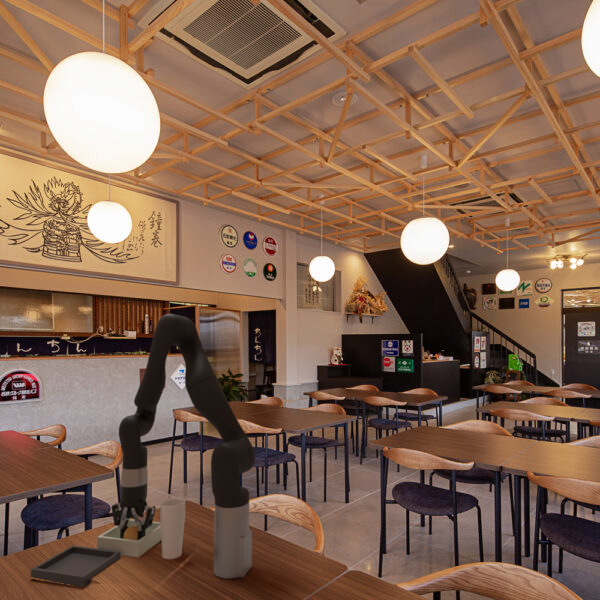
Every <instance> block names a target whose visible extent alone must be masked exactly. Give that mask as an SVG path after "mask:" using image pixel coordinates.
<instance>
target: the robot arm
mask: <svg viewBox="0 0 600 600" xmlns="http://www.w3.org/2000/svg"><path fill="white" fill-rule="evenodd" d="M172 346H176V347H177V348H178V350H179V351H180V354H181V356H182V358H183V360H184V364H185V374H184V375H185V376H184V383H185V389H186V391H187V394H188V396H189V399H190V402H191V403H192V406H194V408H195V409H196V411H197V412H198V413H199V414H200V415H201V416H202V417H203V418H204V419H205V420H206V421H207V422H209V423H210V424H211V425H212V426H213V427H214V428H215V430H217V432H218V434H219V436H220V438H221V440H222V442H221V443H219V444H217V445H216V446H215V447H214V448H213V451H212V453H211V457H210V460H211V461H210V473H211V475H210V477H211V491H212V494H213V496H214V497H213V498H214V522H213V523H214V526H213V527H214V529H213V530H214V534H213V573H214V575H215V576H216V577H218V578H222V579H236V578H244V577H246V574H247V573H248V572H249V570H250V569H251V568H252V567H253V561H252V559H253V552H252V551H253V530H252V528H251V529H250V491H249V489H248V488H246V487H244V486H241V481H240V475H241V474H245V473H246V472H249V471H251V469H252V468H253V467H254V465H255V462H256V454H255V453H256V452H255V449H254V446H253V445H252V443H251V442H252V441H250V439H249V437H248V436H247V434H246V432H245V431H244V428H243V427H242V425H241V424H240V422H239V421H238V419H237V417H236V415H235V414H234V413H235V412H234V411H233V409H232V407H231V405H230V403H229V401H228V399H227V397H226V395H225V393H224V392H225V391H224V390H223V388H222V386H221V384H220V380H218V377H217V375H216V373H215V371H214V369H213V367H212V365H211V363H210V361H209V358H208V357H207V355H206V352H205V349H204V347H203V344H202V341H201V338H200V335H199V331H198V330H197V327H196V325H195V323H194V321H193V320H192V319H191V318H189V317H187V316H184V315H178V314H174V313H167V314H164V315H163V316H161V317H160V318H159V320H158V322H157V323H156V326H155V329H154V333H153V337H152V342H151V346H150V348H149V349H150V350H149V355H148V359H147V364H146V367H145V370H144V372H143V373H144V374H143V375H142V376H143V377H142V380H141V382H140V384H139V386H138V389H137V392H136V394H135V397H134V399H133V400H134V401H133V403H134V406H135V407H136V411H135V413H134V414H131V415H127V416H125V417H124V418H122V419H121V421H120V424H119V427H118V437H119V443H120V447H121V451H122V470H121V473H120V474H121V475H120V496H119V497H120V502H116V503H114V504H113V505H111V511H112V513H111V514H112V519H113V525H114V527H115V526H119V528H120V538H121V539H124V533H125V531H126V529H127V528H128V526H127V525H128V522H129V519H132V520H135V523H136V524H137V527H138V536H137V541H138V540H139V539H141V538H142V537H144V536H145V529H147V528H148V527H150V526H151V525H152V522H154V517H155V513H156V509H157V508H156V505H152V506H151V505H148V503H147V497H148V481H149V480H148V477H149V475H148V474H149V472H148V448H147V446H145V445H142V440H141V437H143V436H147V434H149V433H150V432H151V431H152V429H153V426H154V424H155V420H156V415H157V409H158V404H159V402H160V399H161V397H162V394H163V393H164V389H165V386H166V380H167V377H166V374H167V373H166V363H167V357H168V355H169V352H170V350H171V348H172Z"/></svg>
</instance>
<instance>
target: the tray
mask: <svg viewBox="0 0 600 600" xmlns="http://www.w3.org/2000/svg"><path fill="white" fill-rule="evenodd" d="M121 557H122V555H121V552H120V551H112V550H105V549H97V547H96V548H95V547H89V546H88V547H87V546H79V545H71V546H69V547H67V548H65V549H64V550H62V551H60V552H58V553H56V554H55V555H54V556H51V557H50V558H48V559H47V560H45V561H43V562H40V564H38V565H36V566H35V567H32V568H31V569H30V578H31V577H34V578H39V579H44V580H49V581H53V582H59V583H64V584H70V585H74V586H78V587H77V588H80V587H82V588H81V589H84V588H85V587H87V586H88V585H89V584H91V583H92V582H94V580H93V579H92V578H93V577H95V576H97V575H98V574H99V573H100V572H102V571H104V570H106V569H107V568H108V567H109V566H110V565H113V563H115V562H117V561H118V560H119V559H121ZM91 581H92V582H91ZM90 582H91V583H90ZM74 586H73V587H74ZM83 587H84V588H83Z"/></svg>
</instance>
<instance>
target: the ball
mask: <svg viewBox="0 0 600 600" xmlns="http://www.w3.org/2000/svg"><path fill="white" fill-rule="evenodd" d="M137 536H138V527H137V526H130V527H129V528H127V529H126V531H125V533H124V539H129V540H137Z"/></svg>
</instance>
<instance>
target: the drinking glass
mask: <svg viewBox="0 0 600 600" xmlns="http://www.w3.org/2000/svg"><path fill="white" fill-rule="evenodd" d="M159 517H160V518H159V519H160V521H159V522H160V524H161V541H160V542H161V557H162V559H165V560H174V559H175V560H176V559H177V558H180V557H181V556H182V554H183V541H184V531H185V519H186V501H185V499H183V498H170V499H166V500H163V501H161V502H160V515H159Z"/></svg>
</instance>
